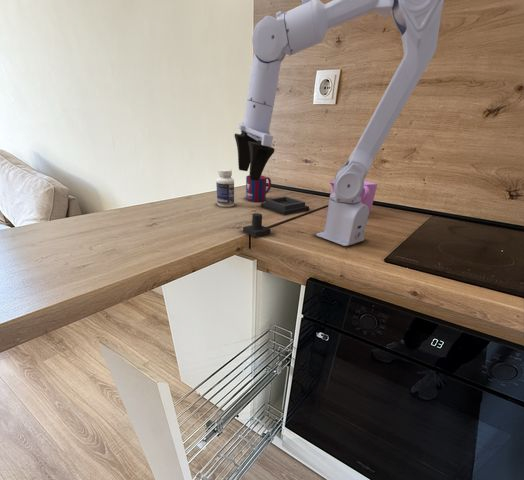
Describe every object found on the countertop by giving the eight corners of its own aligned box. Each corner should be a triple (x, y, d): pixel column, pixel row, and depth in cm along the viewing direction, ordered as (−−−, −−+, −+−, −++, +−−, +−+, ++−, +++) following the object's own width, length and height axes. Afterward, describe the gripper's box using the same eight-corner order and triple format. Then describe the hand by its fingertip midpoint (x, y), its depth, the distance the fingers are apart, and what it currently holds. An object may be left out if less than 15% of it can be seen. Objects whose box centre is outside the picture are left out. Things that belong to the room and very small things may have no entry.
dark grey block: (270, 233, 77) (271, 215, 74) (255, 237, 74) (256, 218, 71) (257, 228, 80) (258, 210, 77) (242, 231, 77) (242, 213, 74)
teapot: (336, 221, 88) (344, 181, 82) (309, 208, 98) (314, 172, 91) (382, 215, 95) (392, 179, 89) (352, 204, 105) (360, 170, 98)
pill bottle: (231, 208, 94) (231, 172, 88) (215, 206, 95) (213, 170, 89) (236, 203, 98) (236, 169, 92) (220, 202, 99) (219, 167, 93)
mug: (242, 198, 104) (242, 175, 100) (265, 195, 109) (266, 173, 105) (253, 202, 100) (254, 179, 96) (276, 199, 105) (278, 177, 101)
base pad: (309, 209, 97) (310, 202, 95) (284, 214, 91) (284, 207, 89) (285, 202, 103) (285, 195, 101) (260, 206, 97) (260, 199, 96)
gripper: (231, 94, 67) (223, 164, 75) (255, 103, 57) (243, 182, 66) (260, 101, 69) (249, 168, 78) (287, 111, 60) (271, 186, 69)
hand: (248, 175), depth 72 cm, fingers open, 7 cm apart
